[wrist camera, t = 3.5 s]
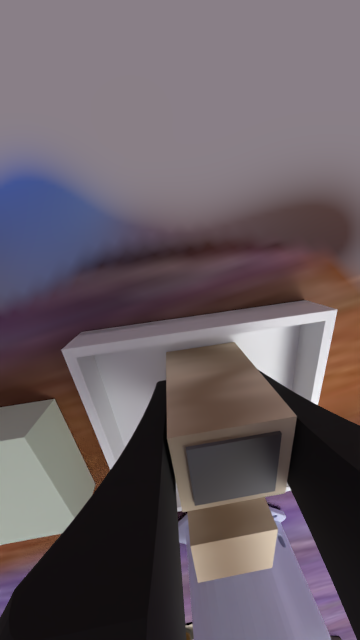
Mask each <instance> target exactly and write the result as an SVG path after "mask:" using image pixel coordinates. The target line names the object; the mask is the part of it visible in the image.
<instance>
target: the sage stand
mask: <svg viewBox="0 0 360 640" xmlns="http://www.w3.org/2000/svg"><path fill="white" fill-rule="evenodd" d="M94 487H95V482H94V480H93V478H92V476H91V474H90V472H89V470H88V468H87V466H86V463H85V461H84V459H83V457H82V455H81V453H80V451H79V449H78V447H77V445H76V443H75V440H74V438H73V436H72V434H71V432H70V430H69V428H68V426H67V424H66V422H65V420H64V418H63V415H62V413H61V411H60V409H59V407H58V405H57V403H56V401H55V399H50V400H44V401H38V402H31V403H25V404H18V405H12V406H6V407H0V545H2V544H8V543H13V542H19V541H24V540H29V539H35V538H40V537H45V536H51V535H56V534H61V533H63V532H64V531H65V529H66V528H67V527H68V526H69V525H70V523H71V522H72V521H73V519H74V518H75V517H76V516H77V514H78V513H79V512H80V510H81V509H82V508H83V507H84V505H85V504H86V503H87V501H88V500H89V499H90V497H91V496H92V494H93V491H94Z"/></svg>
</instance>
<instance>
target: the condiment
mask: <svg viewBox="0 0 360 640" xmlns="http://www.w3.org/2000/svg"><path fill="white" fill-rule="evenodd" d="M185 627H186V640H192V639H194V636H193V624H190V625H185Z"/></svg>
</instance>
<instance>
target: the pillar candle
mask: <svg viewBox="0 0 360 640" xmlns="http://www.w3.org/2000/svg"><path fill="white" fill-rule="evenodd" d="M330 637H331V640H341V638H340V637H337V636H335V637H334V636H330Z"/></svg>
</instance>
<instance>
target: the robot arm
mask: <svg viewBox="0 0 360 640" xmlns="http://www.w3.org/2000/svg"><path fill="white" fill-rule="evenodd" d="M258 371H259V372H260V373H261V374H262V375H263V377H264V378H265V379H266V380H267V381H268V382H269V384H270V385H271V386H272V387H273V388H274V390H275V391H276V392H277V393H278V394H279V396H280V397H281V398H282V399H283V400H284V401H285V403H286V404H287V405H288V406H289V407H290V409H291V410H292V411H293V412H294V413H295V415H296V416H297V419H296V426H295V433H294V439H293V446H292V452H291V459H290V465H289V472H288V478H287V483H288V485H289V487H290V489H291V491H292V493H293V495H294V497H295V499H296V501H297V504H298V506H299V508H300V510H301V512H302V514H303V517H304V519H305V521H306V523H307V525H308V527H309V529H310V532H311V534H312V536H313V538H314V541H315V543H316V545H317V547H318V550H319V552H320V554H321V556H322V559H323V561H324V563H325V565H326V568H327V570H328V572H329V574H330V577H331V579H332V581H333V584H334V586H335V588H336V591H337V593H338V595H339V598H340V600H341V602H342V605H343V607H344V609H345V612H346V614H347V616H348V619H349V621H350V624H351V626H352V628H353V631H354V633H355V636H356V638H357V640H360V426H359V425H357V424H355V423H353V422H350V421H348V420H346V419H344V418H342V417H340V416H338V415H336V414H334V413H332V412H330V411H328V410H326V409H324V408H322V407H320V406H318V405H316V404H314V403H313V402H311V401H309V400H307V399H305V398H304V397H302V396H300V395H298V394H297V393H295V392H293V391H292V390H290V389H288V388H287V387H285V386H283V385H282V384H280V383H278V382H277V381H275V380H274V379H272V378H271V377H269V376H267V375H266V374H264V373H263V372H261V371H260V370H258ZM269 509H270V511H271V513H272V516H273V518H274V521H275V523H276V525H277V528H278V533H277V539H276V546H275V553H274V560H273V566H272V568H269V569H264V570H259V571H254V572H249V573H244V574H239V575H235V576H230V577H225V578H220V579H215V580H210V581H205V582H200V583H198V581H197V576H196V571H195V566H194V561H193V556H192V552H191V547H190V536H189V525H188V514H186V515H185V516H184V517H183V518H182V519H181V520H180V521H179V522H178V514H177V499H176V479H175V474H174V469H173V464H172V459H171V455H170V450H169V445H168V440H167V396H166V380H163V381H158V382H157V383H156V387H155V389H154V392H153V395H152V397H151V399H150V402H149V404H148V406H147V408H146V410H145V412H144V415H143V417H142V419H141V420H140V422H139V424H138V426H137V428H136V430H135V432H134V433H133V435H132V437H131V439H130V440H129V442H128V444H127V445H126V447H125V449H124V450H123V452H122V453H121V455H120V457H119V458H118V460H117V461H116V463H115V464H114V465H113V467H112V468H111V470H110V471H109V473H108V474H107V476H106V477H105V479H104V480H103V481H102V483H101V484H100V486H99V487H98V488H97V490H96V491H95V492H94V494H93V495H92V496H91V497H90V499H89V500H88V501H87V503H86V504H85V505H84V507H83V508H82V509H81V510H80V512H79V513H78V514H77V516H76V517H75V518H74V519H73V521H72V522H71V523H70V525H69V526H68V527H67V528H66V529H65V531H64V532H63V533H62V534H61V536H60V537H59V538H58V539H57V540H56V541H55V543H54V544H53V545H52V546H51V547H50V549H49V550H48V551H47V552H46V553H45V554H44V556H43V557H42V558H41V559H40V560H39V561H38V563H37V564H36V565H35V566H34V567H33V569H32V570H31V571H30V572H29V573H28V574H27V576H26V577H25V578H24V579H23V580H22V581H21V583H20V584H19V585H18V586H17V587H16V588H15V590H14V592H13V594H12V596H11V598H10V600H9V602H8V604H7V606H6V608H5V610H4V612H3V613H2V615H1V617H0V640H186V627H185V614H184V600H183V587H182V573H181V559H180V544H179V542H180V543H184V544H186V545H187V558H188V571H189V584H190V597H191V610H192V623H193V636H194V640H331V637H330V635H329V632H328V630H327V627H326V625H325V623H324V620H323V618H322V616H321V614H320V611H319V609H318V607H317V605H316V602H315V600H314V598H313V595H312V593H311V591H310V589H309V586H308V584H307V582H306V580H305V577H304V575H303V573H302V570H301V568H300V566H299V564H298V561H297V559H296V557H295V555H294V552H293V550H292V548H291V545H290V543H289V541H288V539H287V536H286V534H285V532H284V529H283V527H282V525H281V522H282V521H283V520H285V519H286V516H285V514H284V512H283V511H281V510H278V509H275V508H272V507H269Z"/></svg>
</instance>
